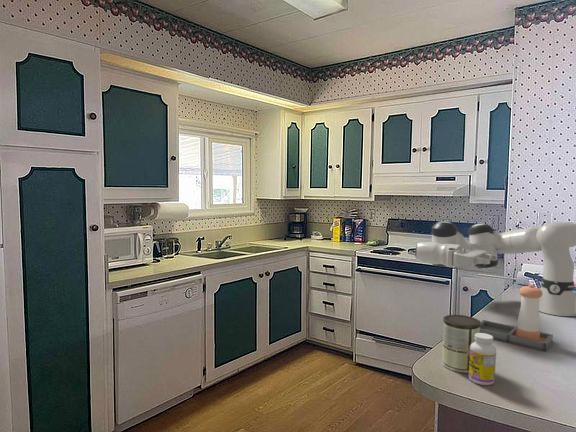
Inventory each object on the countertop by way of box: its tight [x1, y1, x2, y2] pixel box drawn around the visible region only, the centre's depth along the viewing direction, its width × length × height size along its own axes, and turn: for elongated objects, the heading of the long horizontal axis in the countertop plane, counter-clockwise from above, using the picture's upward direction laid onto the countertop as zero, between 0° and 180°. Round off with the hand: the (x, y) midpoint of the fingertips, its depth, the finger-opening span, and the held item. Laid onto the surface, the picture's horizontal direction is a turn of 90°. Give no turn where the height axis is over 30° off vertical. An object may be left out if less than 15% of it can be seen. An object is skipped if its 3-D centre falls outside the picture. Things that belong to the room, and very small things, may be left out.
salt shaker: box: [515, 284, 542, 341], centre depth 149 cm, size 7×7×19 cm
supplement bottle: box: [467, 333, 497, 386], centre depth 118 cm, size 7×7×13 cm
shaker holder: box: [480, 319, 554, 352], centre depth 153 cm, size 12×23×2 cm, turn 50°
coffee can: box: [441, 314, 482, 374], centre depth 128 cm, size 10×10×14 cm
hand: (493, 260), depth 158 cm, fingers open, 8 cm apart
